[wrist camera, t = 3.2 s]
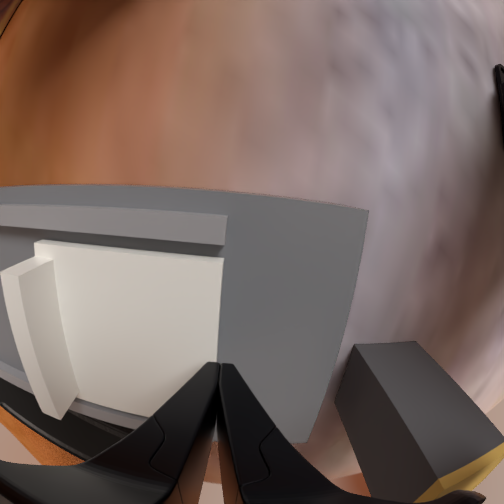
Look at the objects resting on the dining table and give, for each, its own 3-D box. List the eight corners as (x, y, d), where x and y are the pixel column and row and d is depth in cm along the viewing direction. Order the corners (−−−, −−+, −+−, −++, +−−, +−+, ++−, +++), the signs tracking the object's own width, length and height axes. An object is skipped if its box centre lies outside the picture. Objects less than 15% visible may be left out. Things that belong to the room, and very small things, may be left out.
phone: (142, 485, 15) (-6, 401, 13) (144, 475, 16) (0, 394, 14) (157, 443, 13) (-22, 336, 11) (160, 431, 14) (-13, 330, 12)
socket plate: (342, 204, 11) (376, 212, 8) (298, 409, 13) (309, 451, 10) (-12, 187, 10) (-49, 192, 7) (12, 354, 12) (-12, 376, 9)
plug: (415, 341, 13) (512, 447, 4) (392, 395, 14) (458, 503, 5) (354, 344, 13) (444, 489, 4) (334, 402, 13) (385, 535, 5)
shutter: (224, 257, 9) (217, 287, 6) (214, 416, 10) (209, 463, 8) (43, 239, 8) (-3, 256, 6) (70, 386, 10) (46, 420, 7)
